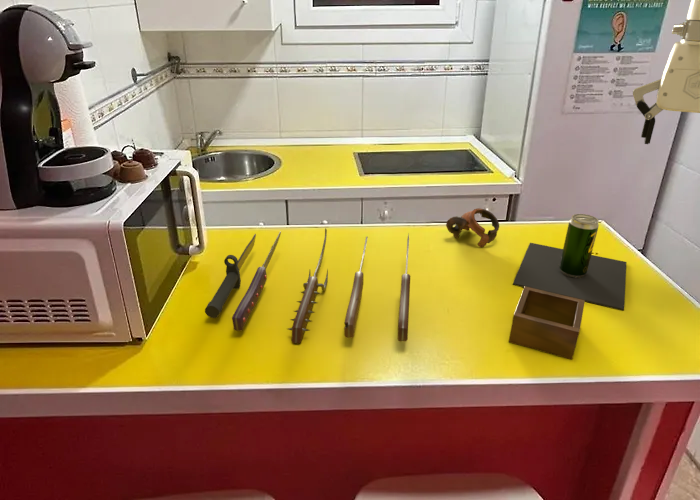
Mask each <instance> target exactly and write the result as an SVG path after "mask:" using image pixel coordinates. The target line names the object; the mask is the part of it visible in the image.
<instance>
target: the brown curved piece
mask: <svg viewBox="0 0 700 500" xmlns="http://www.w3.org/2000/svg"><path fill="white" fill-rule="evenodd" d="M477 214H480V216H481V218H485V219H488V220H490V223H491V226H492V227H493V229H489V230H488V231H487V233H485V232H486V228H485V227H483V226H481V225H480V224H479V222H477V220H476V218H475V217H476V215H477ZM445 227H446V230H447V231H448V232H449V233H450V234H452V236H454V238H456V239H458V238H459V237H460V235H461V233H462V231H463V230H465V231H469V230H471V231H472V232H474V233H475V234H476V235H477V236H478V237H480V240H479V242H478V243H477V247H479V248H484V247H485V246H487V244H490V243H492V242H493V241H494V240H495V239H496V238H497V236H498V235H497V234H498V231H499V230H500V223H499V220H498V218H497V217H496V216H495V215H494V214H493V213H492V212H491V211H489V210H488V209H484V208H481V207H479V208H474V209H473V210H470V211H467V212H465V213H463V214H462V215H461V216H458V215H457V216H452V217H449V218H448V219H447V221H446V223H445Z"/></svg>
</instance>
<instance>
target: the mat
mask: <svg viewBox="0 0 700 500" xmlns="http://www.w3.org/2000/svg"><path fill="white" fill-rule="evenodd" d="M562 252H563V248H560V247H554V246H550V245H546V244H545V245H544V244H540V243H535V242H529V244H528V247H527V249H526V251H525V253H524V256H523V258H522V260H521V263H520V265H519V267H518V270H517V273H516V275H515V277H514V279H513V282H512V286H517V287H521V288H524V286H526V287H530V288H534V289H539V290H543V291H547V292H551V293H556V294H560V295H564V296H569V297H573V298H577V299H581V300H585V303H589V304H592V305H593V304H594V305H598V306H601V307H606V308H611V309H613V310H614V309H615V310H619V311H622V312H623V311H625V298H626V283H627V281H626V280H627V278H626V277H627V261H623V260H618V259H614V258H609V257H604V256H599V255H594V254H591V258H590V262H589V266H588V270H587V273H586V274H585V276H583V277H581V278H572V277H568V276H566V275H564V274H562V273H561V272H560V268H559V265H560V260H561V256H562Z"/></svg>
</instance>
